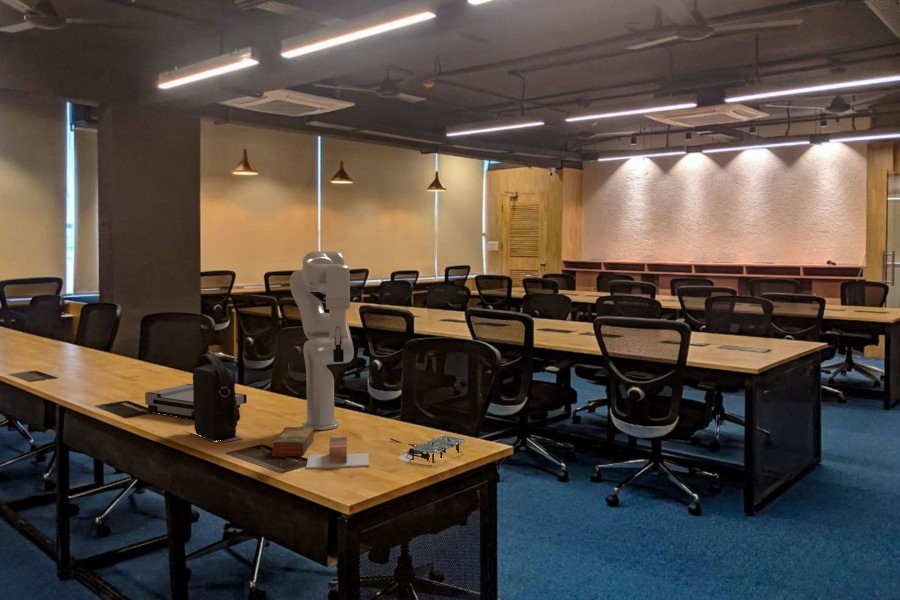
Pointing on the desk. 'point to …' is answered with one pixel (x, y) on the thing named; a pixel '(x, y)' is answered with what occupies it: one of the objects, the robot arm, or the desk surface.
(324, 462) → the grey mat
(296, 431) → the carton
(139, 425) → the desk surface
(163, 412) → the game console
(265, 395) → the desk surface
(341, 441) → the walnut block
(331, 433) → the desk surface
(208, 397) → the shoulder bag
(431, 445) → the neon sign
